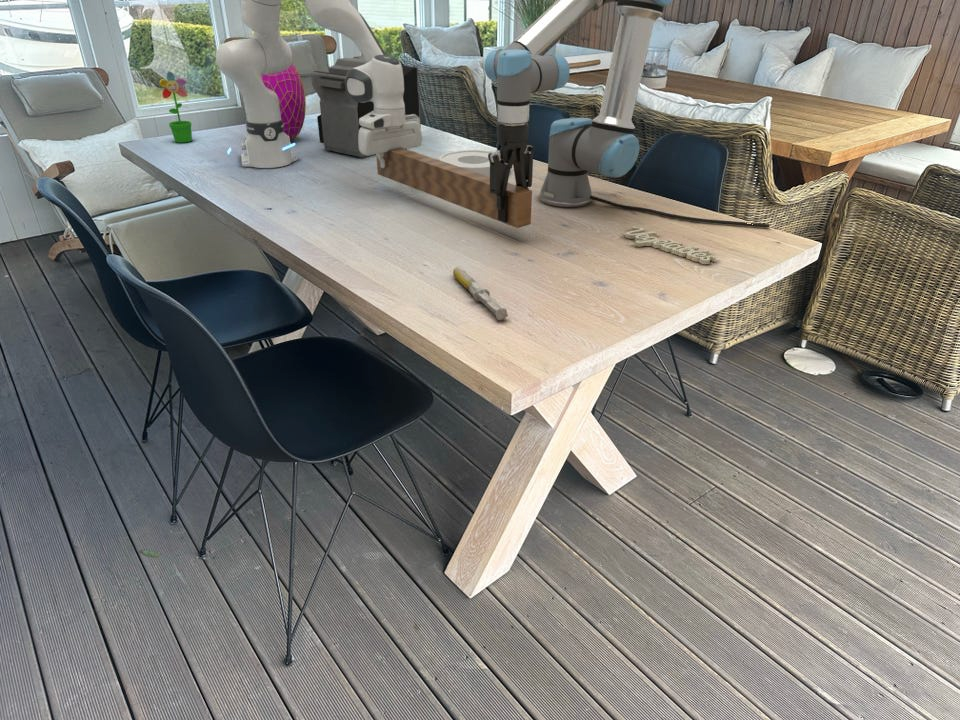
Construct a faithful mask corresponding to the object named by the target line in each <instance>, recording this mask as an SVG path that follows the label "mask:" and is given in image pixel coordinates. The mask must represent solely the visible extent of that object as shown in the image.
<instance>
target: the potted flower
mask: <svg viewBox="0 0 960 720" xmlns="http://www.w3.org/2000/svg"><path fill="white" fill-rule="evenodd" d="M165 77H166V79H164V78H161V79H159V84H158V85H159V86H160V87H161V88H164V89H163V90H162V93H161V95H162V98H163V99H169V98H170V97H171V95H172V96H173V100H174V105H175V108H170V109H169V110H168V112H169V113H171V114H173V115H177V119H178V120H176V121H175V120H174V121H171V122H169V123H168V125H169V128H170V130H171V133H172V136H173V139H174V142H175V143H180V144H181V143H189V142H192V141H193V133H192V122H191V121H189V120H181V116H180V111H179V109H180V108H181V107H182V106H183V103H181V102H179V103H178V102H177V96H176V94H177V95H178V96H179V97H183V98H184V97H188V93H187V91H186V89H184V88H183V87H184V86H185V85H186V84H187V83H188V81H187V80H186V79H185V78H183V77H182V78H181V77H180V78H176V76H175V74H174V73H173V71H170V70H168V71H167V72H166V76H165Z"/></svg>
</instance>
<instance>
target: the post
mask: <svg viewBox="0 0 960 720" xmlns="http://www.w3.org/2000/svg"><path fill="white" fill-rule="evenodd" d="M375 156H376V155H375ZM383 159H384V161H387V165H388V167H386V168H381V167H380V161H379V159H378V158H377V156H376V169H377V175H378V176H380V177H384V178H386V179H388V180H391V181H394V182H397V183H399V184H401V185H404V186H407V187H410V188H411V189H415V190H418V191H420V192H423V193H425V194H428V195H431V196H433V197H436V198H438V199H441V200H443V201H446V202H448V203H451V204H453V205H457V206H459V207H462V208H464V209H467V210H469V211H471V212H475V213H477V214H480V215H482V216H485V217H488V218H490V219H493V220H495V221H498V222H501V223H502V224H506V225H508V226H511V227H513V228H516V229H520V228H523V227H526V226H528V225H529V226H530V225H531V224H532V206H533V205H532V203H533V201H532V200H533V190H531V189H530V188H529V189H526V188H523V187H520V186H516V184H514V183H511V182H508V184H507V189H506V195H505V196H508V219H507V222H506V223H504V222H502V221H499V220H498V209H497V207H496V203H497V197H496V195H493V194H491V193H490V177H489V176H486V175H483V174H480V173H477V172H474V171H471V170H468V169H465V168H462V167H459V166H456V165H452V164H449V163H446V162H443V161H440V160H439V159H437V158H434V157H431V156H427V155H424V154H422V153H419V152H415V151H414V150H413V151H412V150H410V149H408V148H407V149H404V148H397V149H392V150H388V152H385V153H384V156H383Z"/></svg>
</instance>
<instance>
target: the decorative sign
mask: <svg viewBox="0 0 960 720" xmlns="http://www.w3.org/2000/svg"><path fill="white" fill-rule="evenodd" d="M624 238H626V239H629V240H630V239H631V240H634V247H636V248H639V247H653V248H655V249H660V250H661V251H663V252H667V253H671V254H673V255H677V256H679V257H685V259H687V260H691V261H693V262H696V263H697V262H698V263H700V264H702V265H709V264H710V261H711V262H712V263H715V262H716V258H717V257H716V256H715V255H711V254H710V250H709V249H700V247H699V246H697V245H696V246H686V247H685V246H684V245H683V243H682V242H681V241H677V240H676V241H675V240H673V239H667V240H666V239H662V238H658V237H657V232H656V231H645V228H643V227H639V226H631V229H630V231H625V234H624ZM709 254H710V255H709Z"/></svg>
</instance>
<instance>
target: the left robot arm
mask: <svg viewBox="0 0 960 720" xmlns="http://www.w3.org/2000/svg"><path fill="white" fill-rule="evenodd" d="M303 2H304V4H305V6H306V9H307V11H308V14H310V16H311V17H312V19H313V21H314V22H315V23H316V24H317V25H319V26H320V27H321V28H323V29H326V30H328V31H333V32H334V33H338V34H341V35H343V36H345V37H347V38H349V39H350V41H352V42H353V43H354V44H355V45H356V47H357V48H358V50H359V52H360V53H361V56H363V57H364V58H365V60H366V62H367V63H366V64H364V65H361V66H358V67H355V68H353V69H350V70H349V71H348V72H347V74H346V77H345V88H346V92H347V94H348V95H349V97H350V98H351V99H352V100H353V101H355V102H360V103H364V102H369V101H372V102H373V104H374V110H373V111H371V112H370V113H368V114H366V115H365V116H363V117H361V118H360V119H359V124H360V125H361V126H362V127H361V128H360V130H359V134H358V144H359V151H360V152H361V153H362V154H364V155H367V157H369V156H373V155H375V156H377V157H376V159H377V158H378V159H379V161H380V167H381V168H386V167H388V165H387V161H384V159H383V156H384V153H385V152H388V150H392V149H397V148H404V149H407V150H408V149H412V148H418V147H420V146H422V143H423V137H422V128H421V129H420V122H421V118H420V119H419V117H418V116H417V115H415V114H411V115H405V104H404V101H403V94H404V78H403V70H402V66H403V65H402V62H401V61H400V59H398V58H397V57H395V56H393V55H389V54H388V55H387V53H386V52H385V50H384V49H383V47H382V45H381V44H380V42H379V40H378V39H377V37H376V35H375V34H374V32H373V30H372V29H371V26H370V25H369V23H368V22H367V20H366V19H365V17H364V16H363V14H362V13H360V11H358V9H356V7H355V6H354V5H353V4H352V3H351V2H350V0H303ZM281 7H282V0H241V10H240V16H241V19H242V21H243V23H244V24H245V25H246V26H247V28H249V29H251V30H252V33H253V34H252V37H251V38H243V39H242V38H241V39H233V40H230V41H226V42H223V43H221V44H219V45H218V47H217V49H216V51H215V61H216V65H217V67H218V69H219V70H220V72H221V73H222V74H223V75H224V76H226V77H227V78H228V79H230V80H231V82H233V83H234V84H235V86H236V88H237V89H238V91H239V93H240V95H241V98H242V102H243V107H244V112H245V117H246V121H245V128H246V133H247V134H246V137H245V140H244V142H240V148H241V151H243V153H241V154H240V157H241V167H243V168H244V167H245V168H247V167H249V168H257V169H272V168H273V169H274V168H280V167H285V166H288V165H290V164H292V163H294V162H297V161H298V156H296V155H294V154H293V150H292V147H294V146H296V142H293V143H291V140H290V138H289V136H288V135H286V134H285V133H284V124H283V120H282V119H281V114H280V106H279V98H278V96H277V94H276V93H275V92H274V91H272V90H271V89H269V88H266V87H265V85H264V83H263V81H262V77H261V76H262V75H269V74H277V73H279V72H282V71H284V70H286V69H288V68H289V67H290V66H291V63H293V51H292V49H291V47H290V45H289V44H288V42H287V41H286V40H285V39H284V38H283V37H282V34H281V29H280V18H281V17H280V16H281ZM231 152H232V147H229V148H228V150H227V152H226V153H227V155H230V153H231Z"/></svg>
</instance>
